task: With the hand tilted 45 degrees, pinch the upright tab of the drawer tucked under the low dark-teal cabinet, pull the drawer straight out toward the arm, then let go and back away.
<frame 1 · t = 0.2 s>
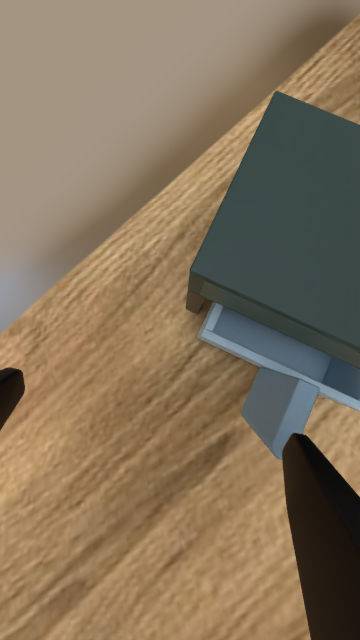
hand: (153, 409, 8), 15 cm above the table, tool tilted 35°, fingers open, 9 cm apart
cabinet: (285, 299, 23), on the table
drawer: (292, 335, 18), point 5 cm above the table, slide at 0.0 cm
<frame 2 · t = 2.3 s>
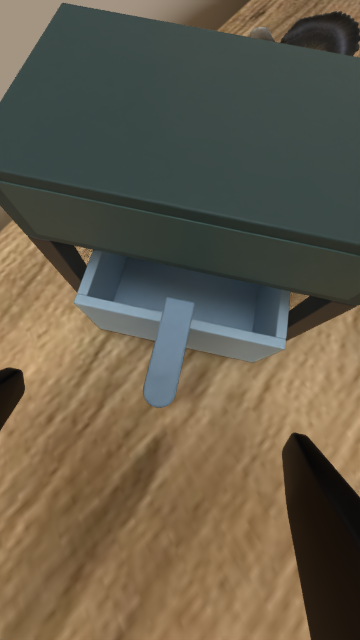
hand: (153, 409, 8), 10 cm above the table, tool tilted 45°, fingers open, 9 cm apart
cabinet: (193, 269, 21), on the table
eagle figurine: (282, 95, 29), on the table
drawer: (187, 284, 16), point 5 cm above the table, slide at 0.0 cm
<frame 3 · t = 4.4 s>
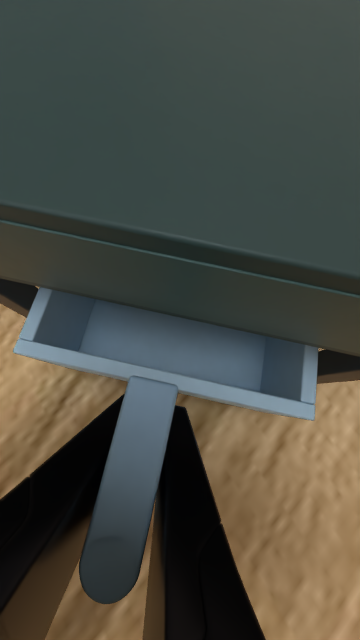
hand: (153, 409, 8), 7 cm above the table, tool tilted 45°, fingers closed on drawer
cabinet: (187, 289, 17), on the table
drawer: (176, 321, 11), point 5 cm above the table, slide at 0.0 cm, touching gripper
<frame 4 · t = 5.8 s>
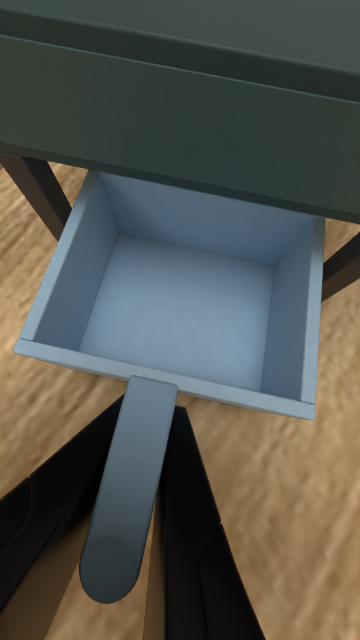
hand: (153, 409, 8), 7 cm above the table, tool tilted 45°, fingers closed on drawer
cabinet: (200, 231, 19), on the table
drawer: (176, 321, 11), point 5 cm above the table, slide at 4.8 cm, touching gripper
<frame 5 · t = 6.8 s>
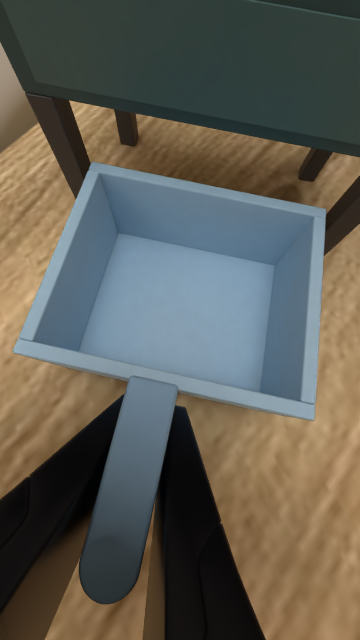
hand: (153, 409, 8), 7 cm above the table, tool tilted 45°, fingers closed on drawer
cabinet: (208, 197, 20), on the table
drawer: (176, 321, 11), point 5 cm above the table, slide at 8.0 cm, touching gripper
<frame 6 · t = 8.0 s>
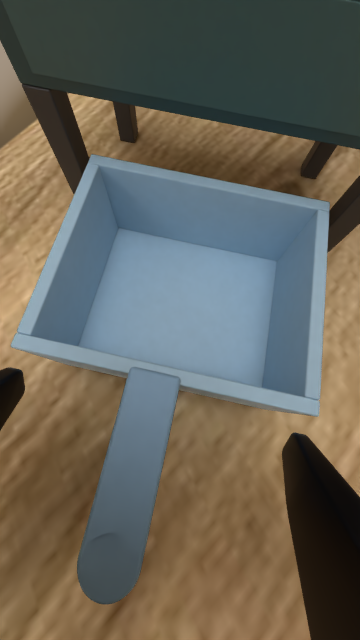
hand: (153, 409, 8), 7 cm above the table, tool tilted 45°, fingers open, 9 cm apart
cabinet: (208, 194, 19), on the table
drawer: (177, 315, 11), point 5 cm above the table, slide at 7.8 cm
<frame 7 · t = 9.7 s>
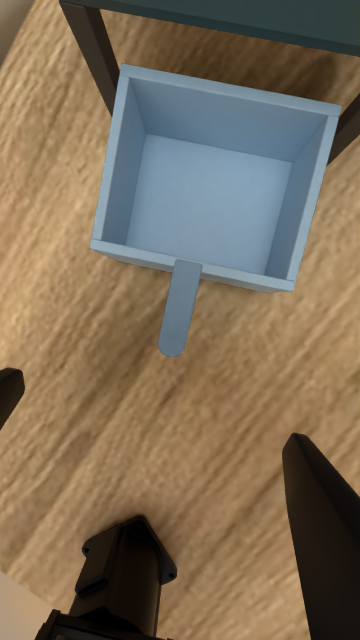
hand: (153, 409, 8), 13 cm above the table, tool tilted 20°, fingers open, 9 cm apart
cabinet: (233, 82, 19), on the table
drawer: (200, 222, 15), point 5 cm above the table, slide at 7.8 cm
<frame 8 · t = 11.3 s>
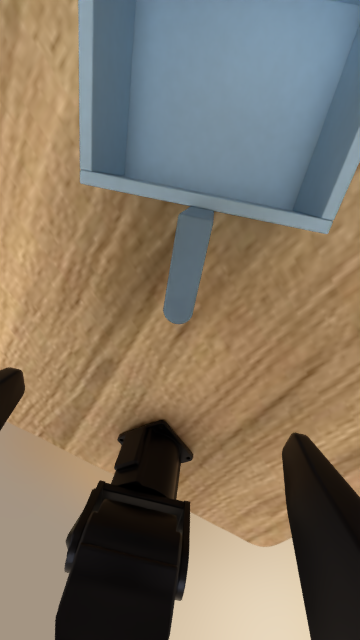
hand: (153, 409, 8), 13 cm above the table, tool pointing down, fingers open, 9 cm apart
drawer: (216, 137, 11), point 5 cm above the table, slide at 7.8 cm
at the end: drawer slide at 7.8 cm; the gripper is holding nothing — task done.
